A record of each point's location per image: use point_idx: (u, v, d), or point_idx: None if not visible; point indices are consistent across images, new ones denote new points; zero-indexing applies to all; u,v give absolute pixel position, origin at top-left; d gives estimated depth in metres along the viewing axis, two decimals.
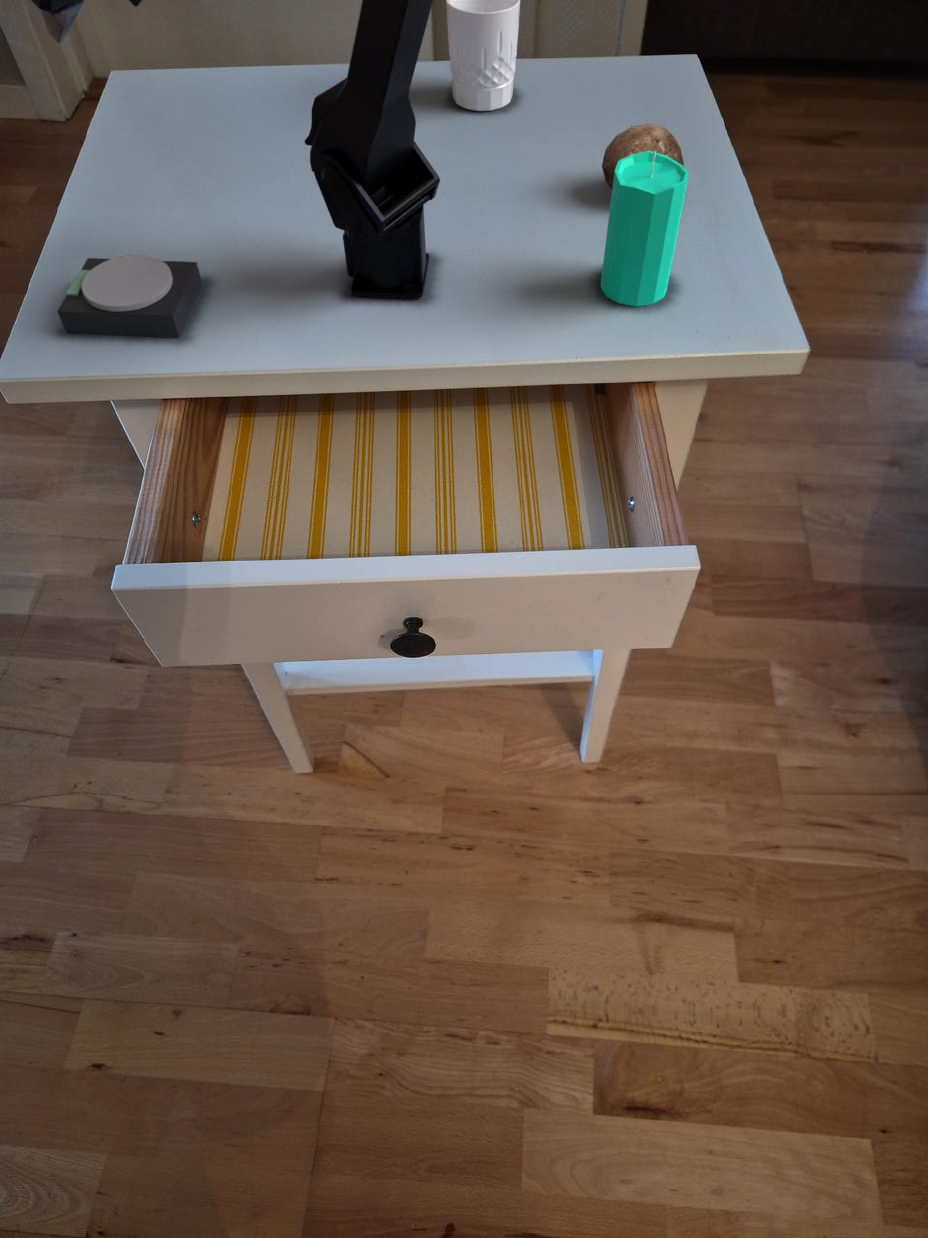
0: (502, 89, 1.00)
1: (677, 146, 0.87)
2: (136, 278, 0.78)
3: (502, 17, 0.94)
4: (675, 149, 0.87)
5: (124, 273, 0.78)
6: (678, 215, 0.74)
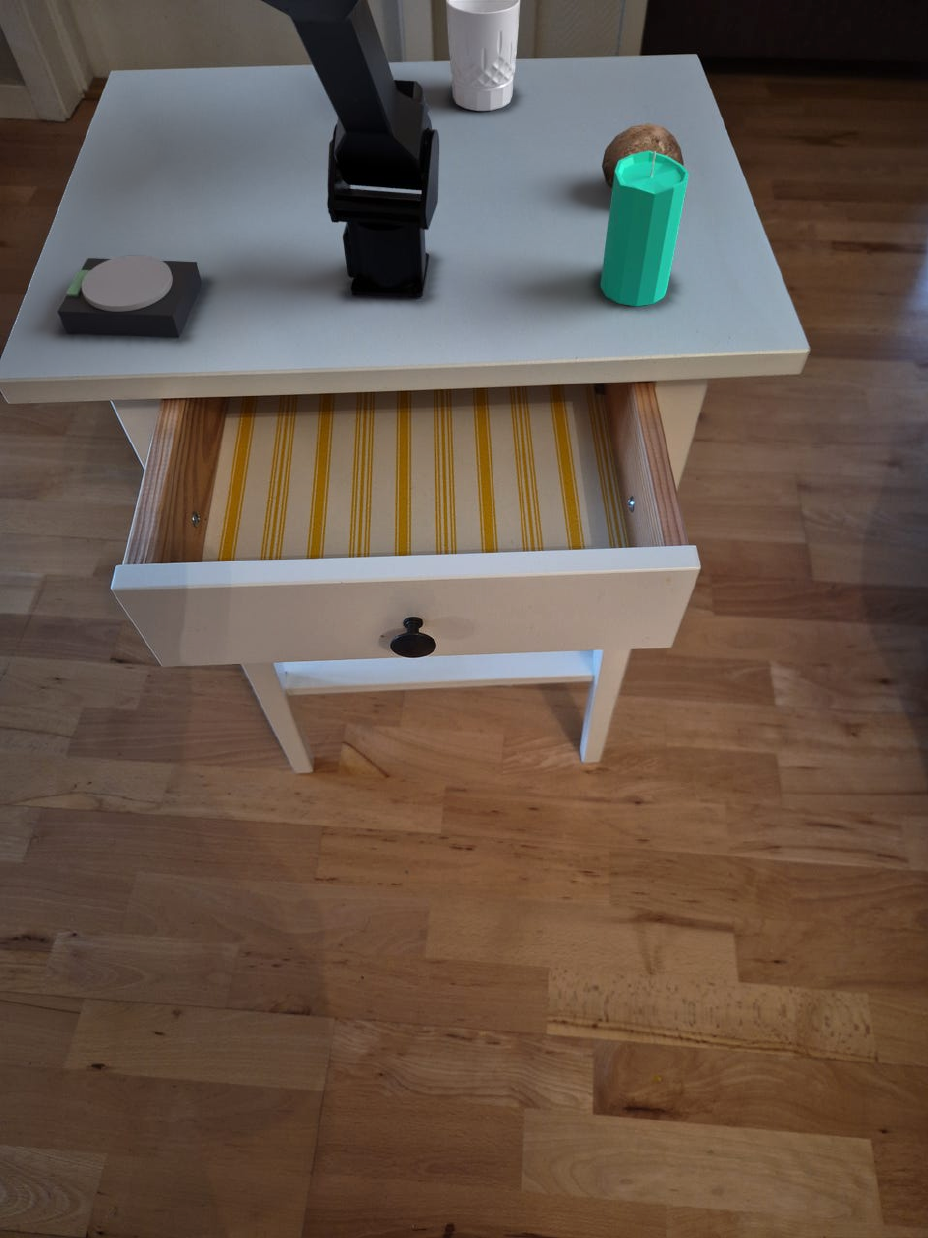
0: (502, 89, 1.00)
1: (677, 146, 0.87)
2: (136, 278, 0.78)
3: (502, 17, 0.94)
4: (675, 149, 0.87)
5: (124, 273, 0.78)
6: (678, 215, 0.74)
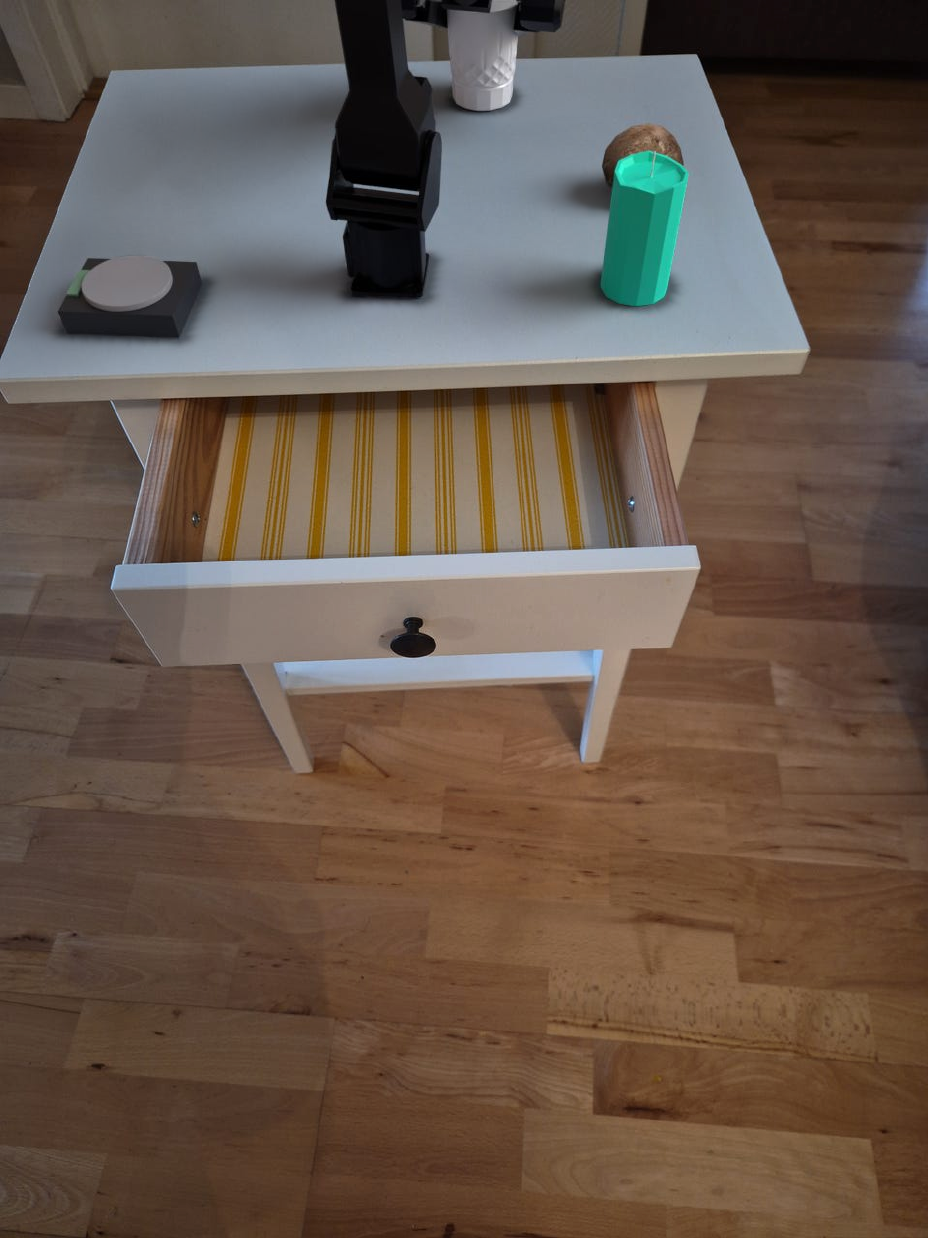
0: (502, 89, 1.00)
1: (677, 146, 0.87)
2: (136, 278, 0.78)
3: (502, 17, 0.94)
4: (675, 149, 0.87)
5: (124, 273, 0.78)
6: (678, 215, 0.74)
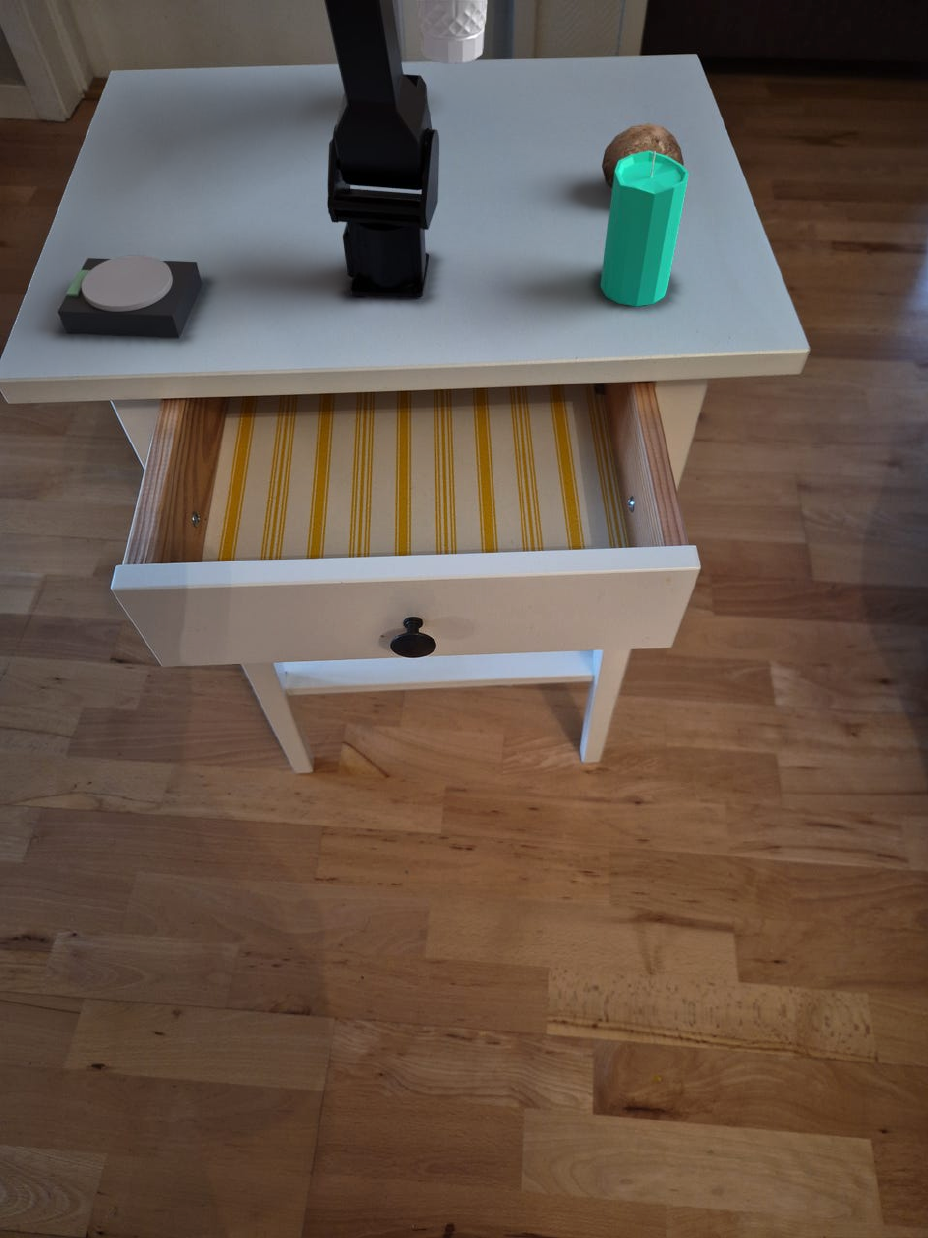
0: (474, 39, 0.95)
1: (677, 146, 0.87)
2: (136, 278, 0.78)
3: None
4: (675, 149, 0.87)
5: (124, 273, 0.78)
6: (678, 215, 0.74)
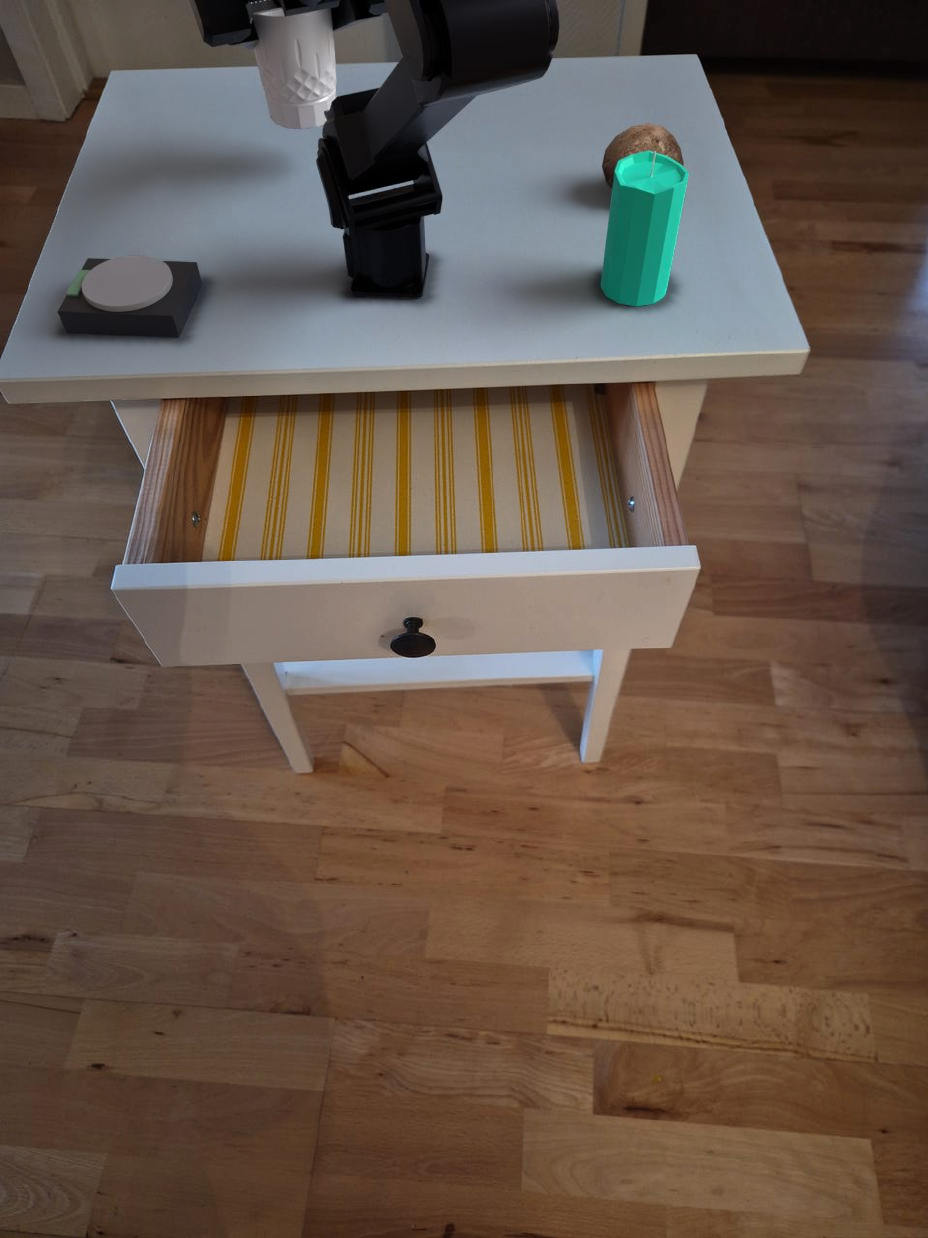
0: (334, 95, 0.88)
1: (677, 146, 0.87)
2: (136, 278, 0.78)
3: (326, 12, 0.82)
4: (675, 149, 0.87)
5: (124, 273, 0.78)
6: (678, 215, 0.74)
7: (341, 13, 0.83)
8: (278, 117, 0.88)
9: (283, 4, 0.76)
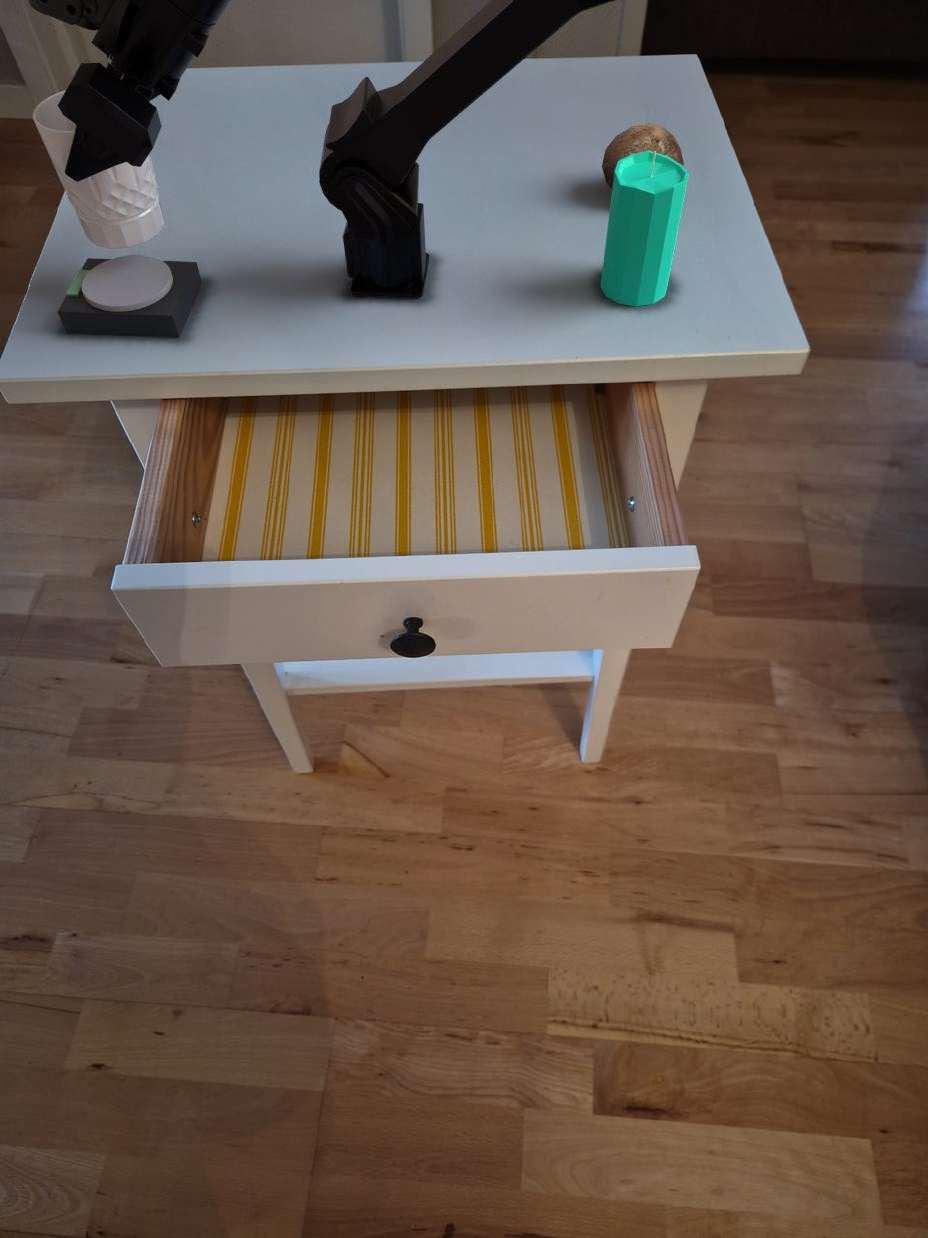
0: None
1: (677, 146, 0.87)
2: (136, 278, 0.78)
3: None
4: (675, 149, 0.87)
5: (124, 273, 0.78)
6: (678, 215, 0.74)
7: None
8: (132, 237, 0.76)
9: (166, 87, 0.67)
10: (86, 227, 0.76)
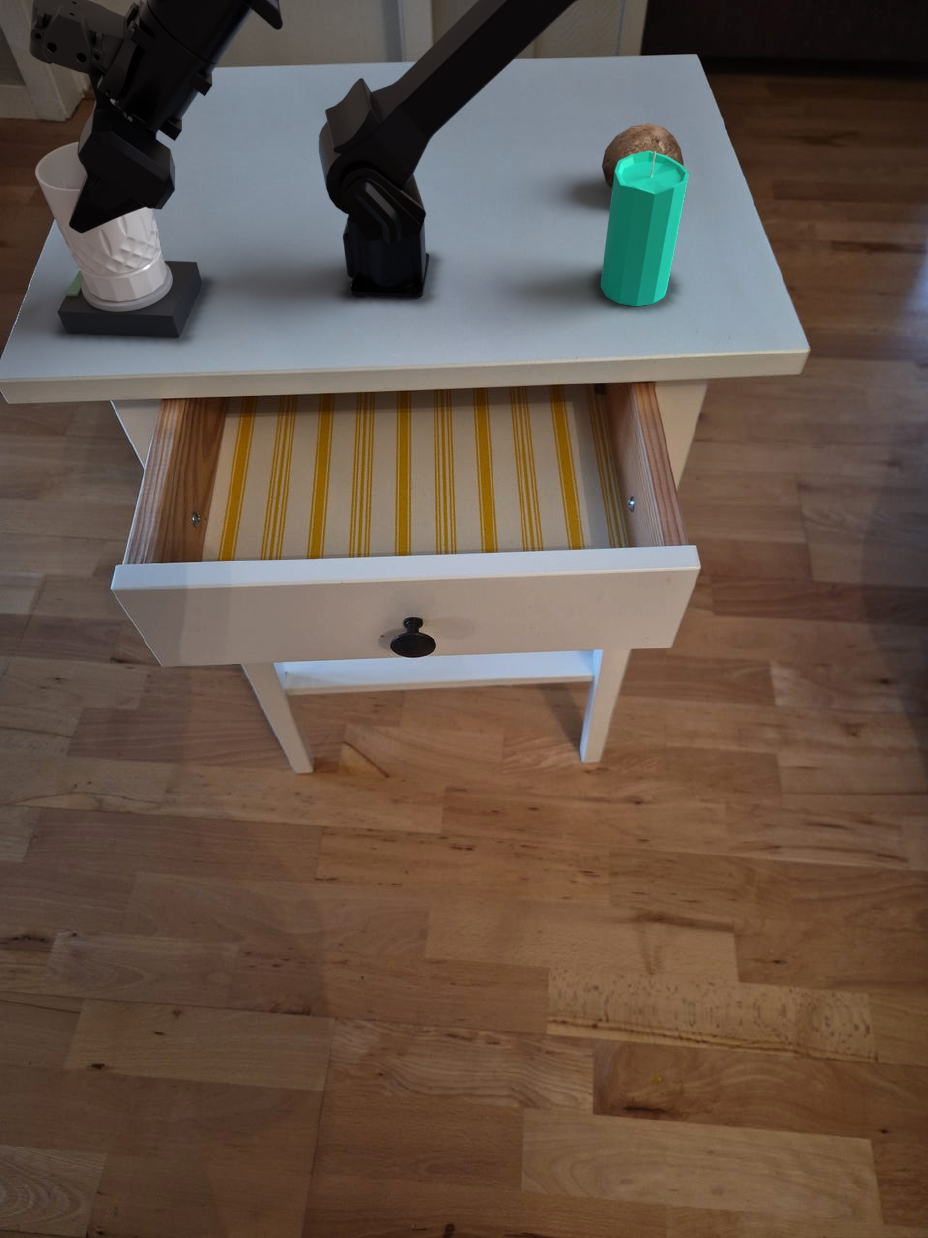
0: None
1: (677, 146, 0.87)
2: None
3: None
4: (675, 149, 0.87)
5: None
6: (678, 215, 0.74)
7: None
8: (141, 288, 0.76)
9: (173, 128, 0.67)
10: (92, 282, 0.75)
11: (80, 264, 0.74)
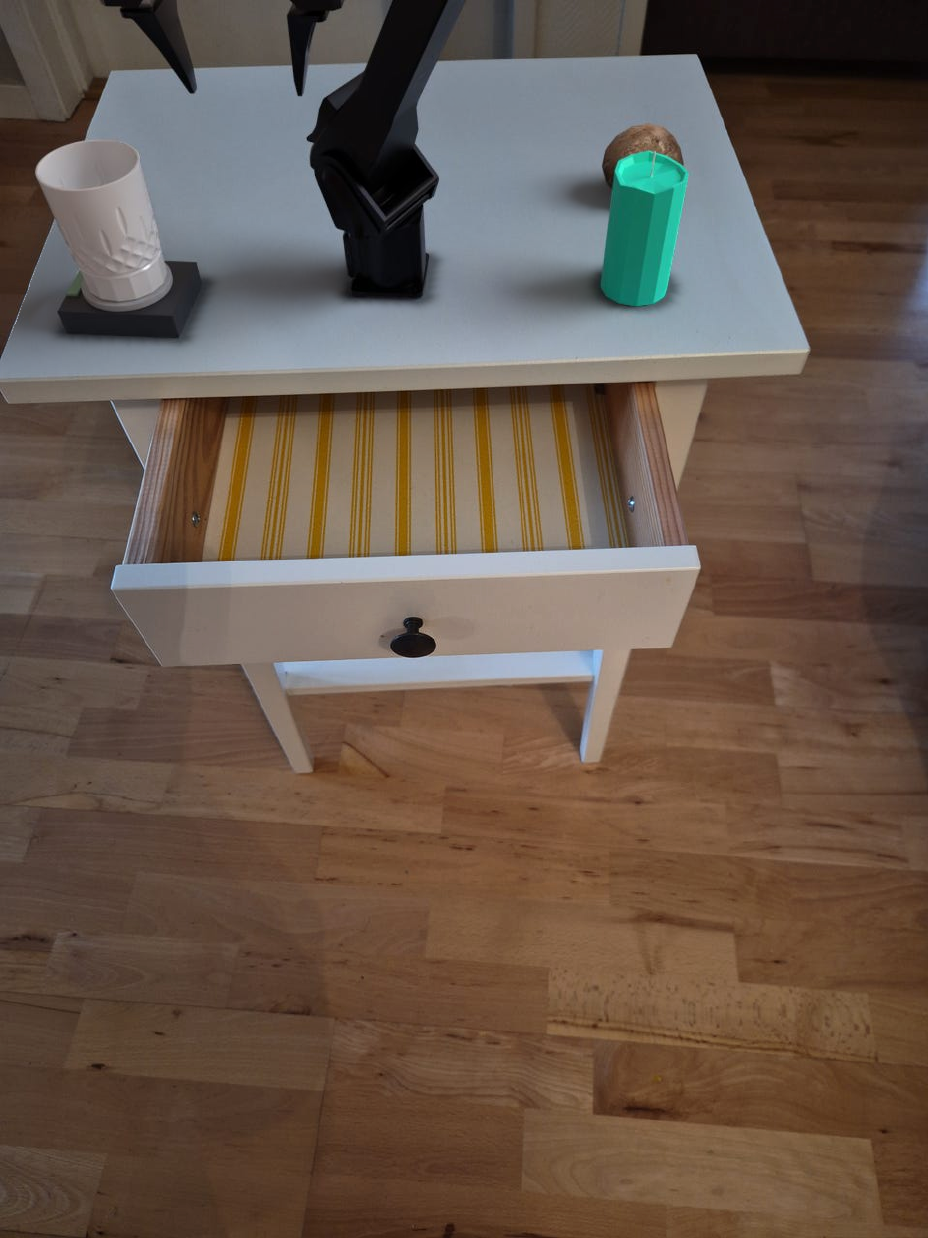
0: None
1: (677, 146, 0.87)
2: None
3: None
4: (675, 149, 0.87)
5: None
6: (678, 215, 0.74)
7: None
8: (141, 288, 0.76)
9: None
10: (92, 282, 0.75)
11: (80, 264, 0.74)
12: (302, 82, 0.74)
